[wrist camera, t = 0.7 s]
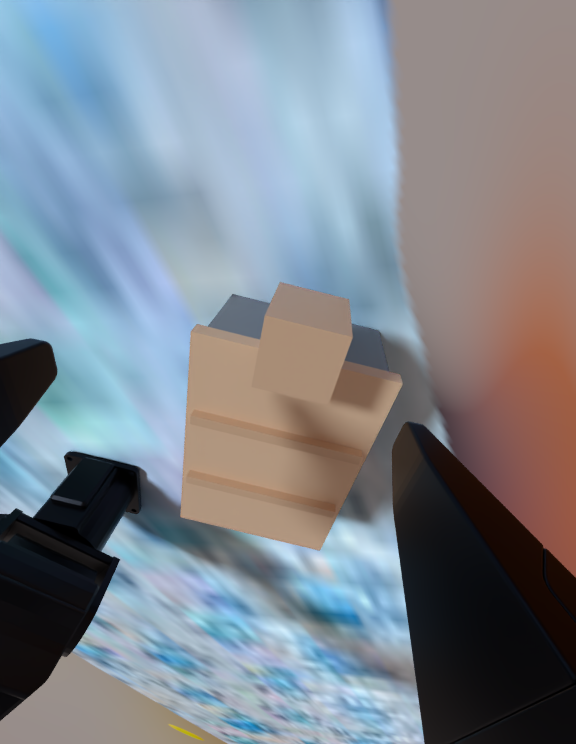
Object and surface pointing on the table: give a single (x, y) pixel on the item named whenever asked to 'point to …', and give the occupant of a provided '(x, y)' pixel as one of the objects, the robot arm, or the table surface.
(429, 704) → the robot arm
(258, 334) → the tub
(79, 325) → the table surface
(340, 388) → the lid
